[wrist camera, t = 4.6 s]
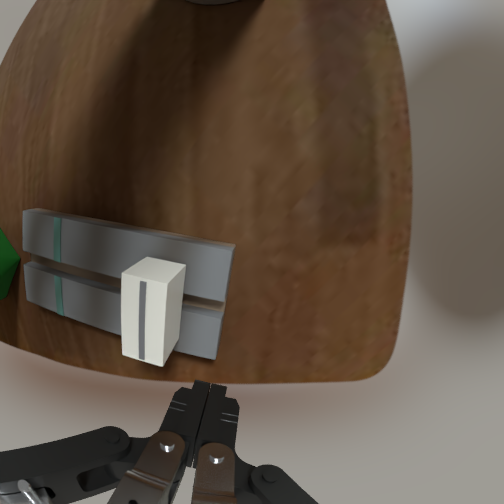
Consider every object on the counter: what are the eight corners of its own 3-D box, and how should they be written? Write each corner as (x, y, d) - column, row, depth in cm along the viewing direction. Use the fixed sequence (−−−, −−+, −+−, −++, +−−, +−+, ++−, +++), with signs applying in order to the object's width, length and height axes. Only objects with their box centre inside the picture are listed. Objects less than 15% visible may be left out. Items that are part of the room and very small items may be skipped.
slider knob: (190, 260, 21) (167, 284, 16) (183, 330, 22) (162, 367, 17) (153, 252, 21) (120, 273, 16) (148, 322, 22) (121, 355, 17)
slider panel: (235, 244, 22) (232, 251, 20) (219, 346, 24) (214, 360, 22) (37, 207, 22) (22, 210, 20) (39, 293, 24) (26, 300, 22)
